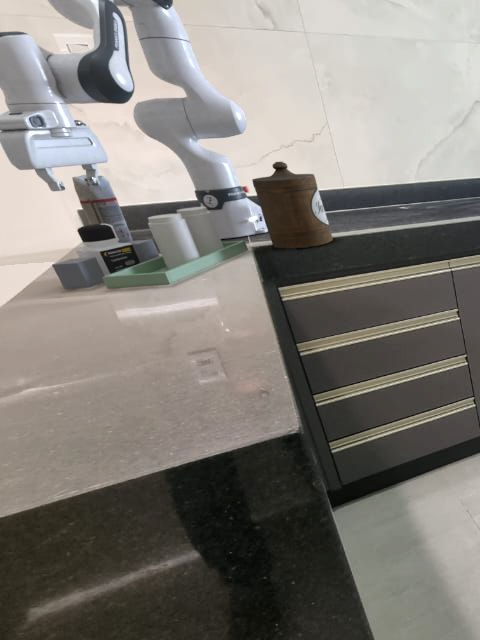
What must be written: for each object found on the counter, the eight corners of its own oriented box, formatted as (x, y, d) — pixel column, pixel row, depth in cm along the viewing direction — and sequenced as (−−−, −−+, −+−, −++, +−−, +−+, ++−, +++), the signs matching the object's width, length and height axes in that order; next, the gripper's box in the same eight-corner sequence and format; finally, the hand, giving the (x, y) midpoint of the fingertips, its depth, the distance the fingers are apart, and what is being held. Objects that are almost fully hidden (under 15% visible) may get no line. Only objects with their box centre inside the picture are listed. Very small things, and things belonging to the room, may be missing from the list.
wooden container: (341, 241, 150) (317, 159, 141) (283, 252, 141) (254, 165, 131) (322, 235, 160) (299, 158, 150) (266, 245, 150) (238, 163, 140)
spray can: (131, 239, 167) (101, 173, 159) (139, 242, 163) (108, 174, 154) (96, 245, 161) (62, 176, 153) (103, 248, 157) (68, 177, 148)
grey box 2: (141, 264, 136) (131, 240, 133) (162, 262, 136) (152, 239, 133) (127, 269, 131) (115, 245, 129) (149, 267, 132) (138, 244, 129)
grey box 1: (84, 284, 119) (71, 258, 117) (108, 283, 120) (95, 257, 117) (65, 291, 115) (51, 264, 112) (90, 289, 115) (77, 262, 113)
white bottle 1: (179, 264, 131) (158, 214, 126) (209, 262, 132) (189, 212, 127) (161, 271, 125) (137, 219, 120) (191, 269, 126) (170, 217, 120)
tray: (199, 255, 142) (194, 243, 141) (249, 251, 143) (244, 240, 142) (108, 291, 114) (101, 277, 113) (171, 286, 115) (165, 272, 114)
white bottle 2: (204, 254, 140) (185, 207, 135) (231, 252, 141) (213, 205, 136) (188, 260, 134) (167, 212, 129) (216, 259, 135) (197, 210, 129)
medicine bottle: (113, 280, 122) (88, 228, 116) (90, 280, 123) (63, 228, 118) (145, 271, 128) (122, 221, 123) (122, 271, 129) (98, 221, 124)
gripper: (70, 120, 120) (99, 184, 126) (-20, 120, 102) (19, 195, 108) (100, 119, 121) (127, 182, 127) (16, 119, 103) (53, 193, 108)
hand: (77, 188), depth 117 cm, fingers open, 8 cm apart
